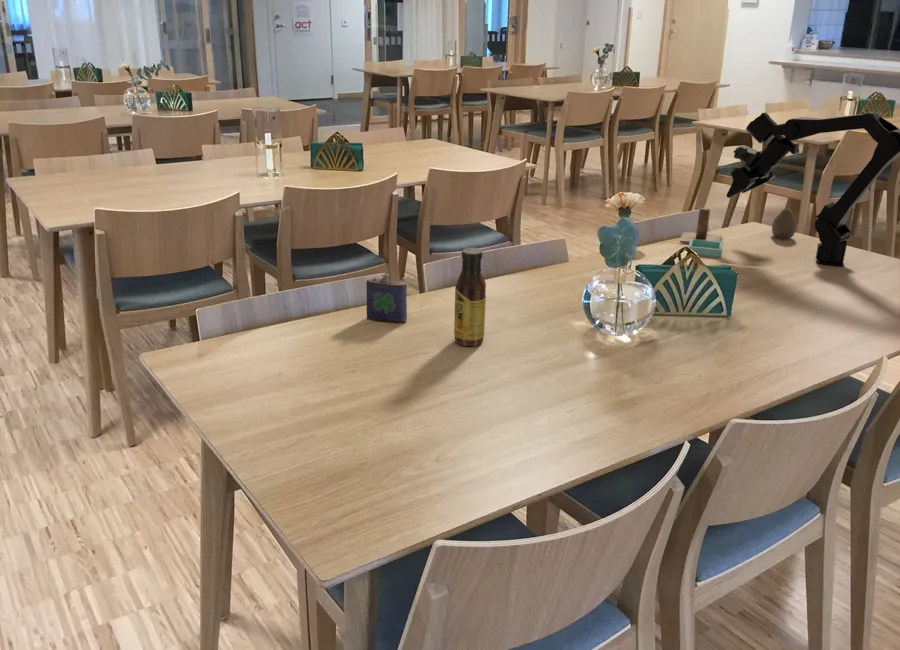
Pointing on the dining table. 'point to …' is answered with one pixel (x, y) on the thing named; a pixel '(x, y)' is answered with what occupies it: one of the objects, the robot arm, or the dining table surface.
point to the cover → (701, 229)
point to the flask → (386, 300)
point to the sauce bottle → (470, 300)
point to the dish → (706, 247)
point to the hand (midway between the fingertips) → (734, 194)
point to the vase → (784, 225)
